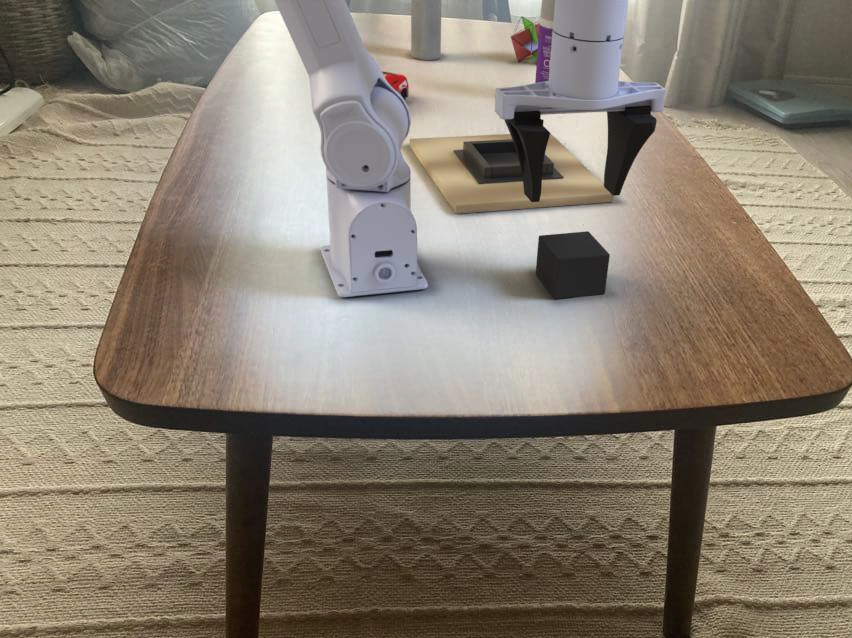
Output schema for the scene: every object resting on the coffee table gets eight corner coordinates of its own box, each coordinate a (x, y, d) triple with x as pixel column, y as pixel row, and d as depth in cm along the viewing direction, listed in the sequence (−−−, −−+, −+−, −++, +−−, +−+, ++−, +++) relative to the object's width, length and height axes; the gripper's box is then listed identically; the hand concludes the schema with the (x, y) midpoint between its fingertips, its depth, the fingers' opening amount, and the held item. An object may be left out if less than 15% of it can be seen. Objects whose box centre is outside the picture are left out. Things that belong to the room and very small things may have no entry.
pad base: (612, 202, 103) (615, 180, 101) (455, 214, 97) (456, 191, 96) (548, 139, 118) (550, 119, 116) (409, 146, 112) (409, 126, 111)
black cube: (605, 294, 85) (610, 254, 83) (554, 299, 84) (558, 259, 81) (584, 269, 89) (588, 230, 87) (535, 274, 87) (538, 235, 85)
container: (538, 106, 129) (548, -11, 120) (530, 95, 132) (538, -19, 124) (571, 105, 130) (582, -10, 121) (561, 95, 134) (572, -18, 125)
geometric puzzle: (511, 55, 141) (543, 9, 139) (492, 42, 146) (522, -2, 144) (542, 81, 146) (573, 38, 144) (523, 69, 151) (552, 26, 149)
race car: (369, 125, 117) (369, 93, 115) (331, 117, 118) (329, 86, 116) (415, 97, 127) (415, 67, 125) (380, 90, 129) (379, 61, 126)
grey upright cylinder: (406, 57, 143) (406, -15, 137) (418, 50, 147) (418, -20, 141) (433, 62, 142) (434, -10, 136) (444, 55, 146) (446, -16, 140)
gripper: (647, 19, 79) (627, 172, 87) (486, 21, 75) (479, 182, 82) (686, 41, 74) (661, 201, 82) (515, 44, 69) (505, 214, 77)
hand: (572, 194), depth 82 cm, fingers open, 7 cm apart
